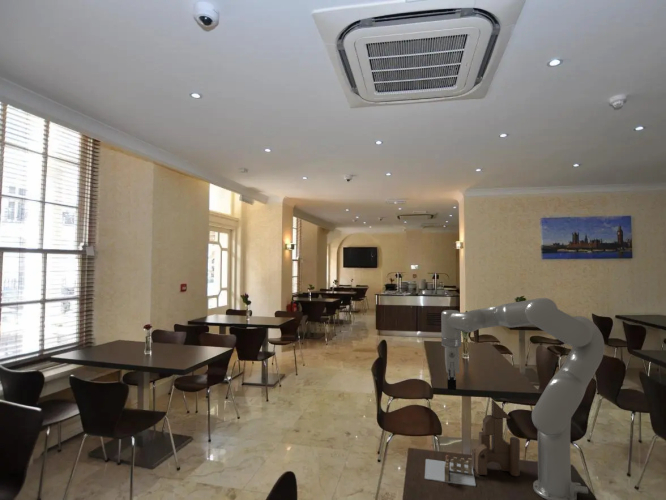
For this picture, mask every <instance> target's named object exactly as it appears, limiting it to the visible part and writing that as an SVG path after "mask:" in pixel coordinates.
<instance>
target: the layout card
mask: <svg viewBox="0 0 666 500" xmlns="http://www.w3.org/2000/svg"><path fill="white" fill-rule="evenodd" d="M445 463H446V460H445V461H444V460H437V459H431V458H430V459H429V458H426V459H425V466H424V480H429V481H435V482H442V483H449V484H454V485H455V484H456V485H463V486H464V485H465V486H469V487H477V486H476V485H477V484H476V479H475V474H474V468H473V467H472V475H468V472H466V471H465V474H461V471H459V470H457V473H454V472H453V470H451V466H453V463H451V461H450V471H449V477H448V482H446V481H445ZM457 466H458V467H461V464H457ZM464 467H466V468H468V465H464Z"/></svg>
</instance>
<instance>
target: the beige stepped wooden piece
mask: <svg viewBox="0 0 666 500" xmlns="http://www.w3.org/2000/svg"><path fill="white" fill-rule="evenodd" d="M450 457H451V456H450V455H448V454H446V455H445V462H446V463H445V481H446V482H445V483H448V477H449V471H450V462H451V458H450Z"/></svg>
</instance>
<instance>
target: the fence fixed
mask: <svg viewBox="0 0 666 500" xmlns="http://www.w3.org/2000/svg"><path fill="white" fill-rule="evenodd" d="M450 462H451V463H453V466H451V470H453V472H454V473H457V470H459V471H461V474H465V471H466V472H468V475H472V457H468V458H467V460H465V458H464V457H460V459H458V457H456V456H453V458H450ZM457 464H461V467H458V466H457ZM464 465H468V468H466V467H464Z"/></svg>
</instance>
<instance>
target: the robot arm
mask: <svg viewBox="0 0 666 500" xmlns="http://www.w3.org/2000/svg"><path fill="white" fill-rule="evenodd" d="M440 314H441V316H440V317H441V320H440V321H441V322H440V323H441V325H440V326H441V329H440V330H441V346H442V347H444V363H445V370H446V373H447V379H446V380H447V390H449V391H450V390H451V391H456V390H457V377H456V375H457V374H460V371H461V370H460V348H462V332H464V333H473V332H475V331H477V330H480V329H486V328H492V327H493V328H494V327H506V328H516V327H517V328H519V327H524V326H535V327H537V328H538V329H540V330H541V331H543V332H544V333H546V334H549V335H550V336H552V337H554V338H555V339H557V340H559V341H560V342H562V343H564V344H566V345H568V346H570V347H572V348H571V350H570V351H569V353H568V355H567V357H566V358H565V361H564V362H563V364H562V365H561V367H560V369H559V370H558V371H557V372H556V373H555V374H554V375H553V376H552V378H551V379H550V381H549V382H548V384H547V385H546V386H545V388H544V391H543V392H542V393H541V395H540V397H539V399H538V401H537V402H536V404H535V406H534V407H533V409H532V411H531V420H532V423H533V425H534V427H535V428H536V430H537V479H536V480H534V481H533V484H532V485H533V486H532V488H533V490H534V492H535V493H536V494H537V495H538V496H539V497H541V498H543V499H545V500H577V498H578V497H577V494H578V493H581V494H587V495H588V494H589V488H588V487H587V486H582V484H581V483H580V482H573V480H572V477H571V476H572V475H571V473H572V472H571V469H572V467H571V465H572V464H571V427H572V425H571V424H572V417H573V415H574V414H575V412H576V411H577V409H578V408H579V406H580V405H581V403H582V402H583V398H584V396H585V393H586V390H587V388H588V386H589V384H590V382H591V380H592V379H593V377H594V376H595V374H596V372H597V369H598V368H599V367H600V364H601V363H602V360H603V358H604V354H605V341H604V336H603V334H602V332H601V331H600V329H599V327H598V325H596V324H595V322H593V320H591V319H590V318H588V317H585V316H581V315H578V316H577V315H576V316H571V315H570V314H568V313H566V312H564V311H563V310H560V309H558V306H557V304H556V303H555V301H553V300H552V299H550V298H547V297H540V298H534V299H528V300H522V301H517V302H516V301H514V302H511V303H510V302H508V303H503V304H500V305H496V306H491V307H485V308H479V309H473V310H468V311H465V312H464V311H463V312H461V311H460V310H456V309H454V310H453V309H446V310H445V309H444V310H443V311H442V312H441V313H440Z"/></svg>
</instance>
